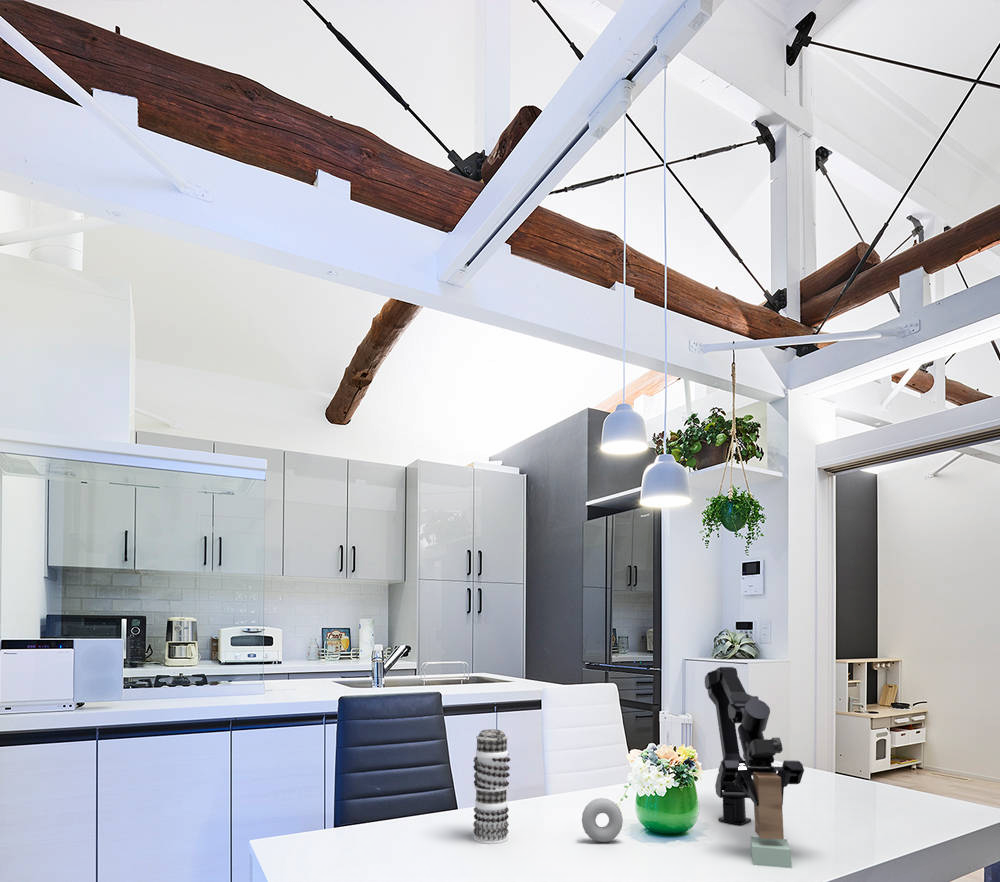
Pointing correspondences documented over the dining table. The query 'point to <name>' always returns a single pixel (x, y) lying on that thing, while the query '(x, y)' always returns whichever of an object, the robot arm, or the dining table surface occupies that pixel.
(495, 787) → the white grey cylinder
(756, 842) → the sage slab
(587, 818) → the donut
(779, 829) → the walnut pillar
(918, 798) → the dining table surface
